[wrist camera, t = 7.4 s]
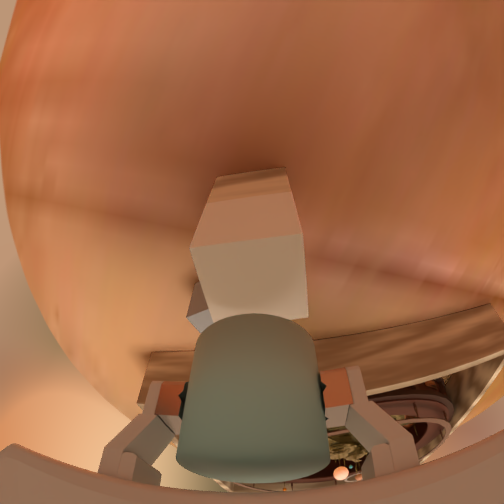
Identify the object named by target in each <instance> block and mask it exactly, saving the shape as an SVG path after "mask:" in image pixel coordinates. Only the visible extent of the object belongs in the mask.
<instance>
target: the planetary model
mask: <svg viewBox="0 0 504 504" xmlns="http://www.w3.org/2000/svg"><path fill="white" fill-rule="evenodd" d="M367 397H368V401H373V402H374V403H375V404H377V405H378V406H379V407H380V408H381V409H382V410H384V411H385V412H386V413H387V414H388V415H389V416H391V417H392V418H393V419H394V420H395V421H396V422H398V423H399V424H400V425H401V426H402V427H404V428H405V429H406V430H407V431H408V432H409V433H411V434H412V435H413V439H414V443H415V447H416V451H418V450H419V449H421V448H422V447H424V446H425V445H427V444H428V443H430V442H431V441H432V440H433V439H435V438H436V437H437V436H438V435H439V434H440V435H441V437H442V440H441V441H440V443H439V444H438V445H437V446H436V447H435V448H433V449H432V450H431V451H430V452H429V453H427V454H426V455H424V456H423V457H421V458H420V459H419V461H420V460H422V459H423V458H425V457H426V456H428V455H429V454H431V453H432V452H434V451H435V450H436V449H437V448H438V447H440V446H441V445H442V444H443V442H445V440H446V439H447V438H448V436H449V435H450V432H451V430H452V429H451V425H450V423H449V422H450V421H451V420H452V417H453V414H454V408H453V403H452V401H451V400H450V399H449V398H448V396H447V393H446V388H445V384H444V381H443V378H442V377H440V378H436V379H433V380H430V381H426V382H423V383H419V384H415V385H412V386H408V387H404V388H400V389H396V390H391V391H387V392H383V393H378V394H373V395H368V396H367ZM444 428H445V430H446V432H445V435H444V438H443V434H442V431H443V429H444ZM327 435H328V443H329V451H330V463H329V464H328V465H327V467H325V468H324V469H322V470H321V471H319V472H317V473H315V474H312V475H309V476H306V477H303V478H299V479H295V480H290V481H283V482H275V483H284V488H283V491H286V490H287V489H286V488H285V483H291V488H292V490H293V483H316V482H325V481H332V480H335V485H337V481H336V480H343V479H344V481H345V482H354V481H359V480H362V479H363V478H362V471H361V467H362V465H363V463H364V461H365V460H366V458H367V456H368V454H369V452H368V451H367V450H366V449H365V448H364V447H363V445H362V444H361V443H360V442H359V441H358V440H357V439H356V438H355V437H354V436H353V435H352V433H351V432H350V431H349V430H348V429H347V428H346V427H345V426H339V427H332V428H327ZM353 476H355V479H356V480H354V481H348V480H347V479H348V478H349V477H353ZM232 483H235V484H237V485H239V486H242V487H246V488H249V489H254V490H259V491H265V492H278V491H272V490H265V489H259V488H254V485H255V483H253V487H251V486H247V485H244V484H242V483H237V482H232Z"/></svg>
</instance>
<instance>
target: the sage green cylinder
mask: <svg viewBox="0 0 504 504" xmlns="http://www.w3.org/2000/svg"><path fill="white" fill-rule="evenodd" d="M176 460H177V462H178V463H179V464H180V465H181V466H183V467H184V468H185V469H187V470H189V471H191V472H193V473H196V474H198V475H202V476H205V477H208V478H212V479H217V480H222V481H228V482H237V483H275V482H283V481H290V480H295V479H299V478H303V477H306V476H309V475H312V474H315V473H317V472H319V471H321V470H322V469H324V468H325V467H327V465H328V464H329V463H330V451H329V443H328V435H327V427H326V420H325V414H324V407H323V398H322V391H321V386H320V379H319V371H318V365H317V358H316V352H315V346H314V342H313V340H312V338H311V336H310V335H309V334H308V332H307V331H306V330H305V329H303V328H302V327H301V326H300V325H298V324H296V323H295V322H293V321H290V320H288V319H285V318H282V317H279V316H275V315H269V314H258V313H250V314H240V315H234V316H230V317H227V318H224V319H221V320H219V321H217V322H215V323H213V324H211V325H210V326H208V327H207V328H206V329H205V330H204V331H203V332H202V333H201V334H200V336H199V338H198V340H197V343H196V347H195V352H194V357H193V362H192V367H191V373H190V378H189V383H188V389H187V394H186V400H185V406H184V411H183V417H182V423H181V429H180V435H179V441H178V447H177V454H176Z"/></svg>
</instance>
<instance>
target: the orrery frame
mask: <svg viewBox="0 0 504 504" xmlns="http://www.w3.org/2000/svg"><path fill="white" fill-rule="evenodd" d="M313 342H314V346H315V352H316V358H317V365H318V371H326V370H332V369H337V368H343V367H350V366H356V365H358V366H359V367H360V370H361V374H362V378H363V382H364V385H365V389H366V393H367V396H368V395H373V394H378V393H383V392H387V391H391V390H396V389H400V388H404V387H408V386H412V385H415V384H419V383H423V382H426V381H430V380H433V379H436V378H440V377H443V376H446V375H449V374H452V375H451V377H450V379H449V380H448V382H447V384H446V386H445V388H446V393H447V396H448V398H449V399H450V400H451V401H452V403H453V408H454V414H453V417H452V420H451V421H450V422H449V423H450V425H451V429H452V430H451V432H450V434H451V433H452V432H453V431H454V430H455V429H456V428H457V427H458V425H459V424H460V423H461V422H462V421H463V420H464V418H465V417H466V416H467V415H468V414H469V412H470V411H471V410H472V409H473V407H474V406H475V405H476V404H477V402H478V401H479V400H480V398H481V397H482V396H483V394H484V393H485V392H486V390H487V389H488V388H489V386H490V385H491V384H492V382H493V381H494V379H495V378H496V376H497V375H498V373H499V372H500V370H501V369H502V367H503V366H504V323H503V321H502V320H501V318H500V317H499V315H498V314H497V312H496V311H495V309H494V308H493V307H492V305H491V304H487V305H483V306H480V307H476V308H473V309H469V310H465V311H462V312H458V313H454V314H450V315H446V316H442V317H438V318H434V319H430V320H425V321H421V322H416V323H412V324H407V325H402V326H397V327H392V328H387V329H382V330H377V331H371V332H366V333H360V334H354V335H348V336H341V337H335V338H328V339H321V340H314V341H313ZM194 352H195V351H177V352H152V353H151V356H150V359H149V363H148V366H147V369H146V373H145V376H144V379H143V383H142V386H141V390H140V393H139V397H138V400H137V405H138V406H139V407H140V408H141V409H142V410H143V409H144V405H145V401H146V397H147V394H148V390H149V386H150V384H151V382H152V381H188V382H189V378H190V373H191V367H192V362H193V357H194ZM445 432H446V430H445V428H444V429H443V431H442V434H443V438H444V435H445ZM441 440H442V437H441V435H440V434H439V435H438V436H437V437H436V438H435V439H433V440H432V441H431V442H430V443H428V444H427V445H425V446H424V447H422V448H421V449H419V450H418V451H417V455H418V459H420V458H421V457H423V456H424V455H426V454H427V453H429V452H430V451H431V450H432V449H433V448H435V447H436V446H437V445H438V444H439V443H440V441H441ZM171 441H172V442H173V443H174V444H175V445H176V446H177V447H178V441H179V435H175V437H174V438H173V439H172V440H171ZM432 453H433V452H432ZM432 453H431V454H432ZM431 454H429V455H428V456H426V457H425V458H423V459H422V460H420V461H419V463H420V465H421V464H422V463H423V462H424V461H425V460H426V459H427V458H428V457H429V456H430V455H431ZM213 480H214V481H215V482H217V483H218V484H219V485H220V486H221V487H223V488H224V489H225V490H226V491H228V492H265V491H259V490H254V489H249V488H246V487H242V486H239V485H237V484H235V483H232V482H228V481H222V480H217V479H213ZM347 480H348V481H354V480H356V479H355V476H353V477H349V478H348V479H347ZM362 480H363V479H362ZM362 480H359V481H362ZM336 481H337V485H340V484H346V483H351V482H345V481H344V479H343V480H336ZM354 482H357V481H354ZM242 484H244V485H247V486H251V487H253V483H242ZM334 485H335V480H332V481H325V482H316V483H293V490H303V489H312V488H320V487H328V486H334ZM254 488H259V489H265V490H272V491H283V488H284V483H255V485H254ZM285 488H286V489H287V490H286V491H292V488H291V483H285Z"/></svg>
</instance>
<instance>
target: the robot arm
mask: <svg viewBox="0 0 504 504" xmlns="http://www.w3.org/2000/svg"><path fill="white" fill-rule="evenodd" d="M319 379H320V386H321V391H322V398H323V407H324V414H325V420H326V427H327V428H332V427H339V426H345V427H346V428H347V429H348V430H349V431H350V432H351V433H352V435H353V436H354V437H355V438H356V439H357V440H358V441H359V442H360V443H361V444H362V445H363V447H364V448H365V449H366V450H367V451H368V452H369V454H368V456H367V458H366V460H365V461H364V463H363V465H362V467H361V471H362V478H363V480H362V481H357V482H351V483H346V484H340V485H334V486H328V487H320V488H312V489H303V490H292V491H278V492H213V491H198V490H187V489H178V488H170V487H162V486H160V481H161V473H160V472H159V471H158V470H156V469H155V468H153V467H152V466H151V465H152V464H153V463H154V462H155V460H156V459H157V458H158V457H159V456H160V454H161V453H162V452H163V450H164V449H165V448H166V447H167V445H168V444H169V443H170V442H171V440H172V439H173V438H174V437H175V435H180V429H181V423H182V417H183V411H184V406H185V400H186V394H187V389H188V383H189V382H188V381H152V382H151V384H150V386H149V390H148V394H147V397H146V401H145V405H144V409H143V412H142V414H138V415H137V416H136V417H135V418H134V419H133V420H132V421H131V422H130V423H129V424H128V425H127V426H126V427H125V428H124V429H123V430H122V431H121V432H120V433H119V434H118V435H117V436H116V437H115V438H114V439H112V440H111V442H109V443H108V444H107V445H106V446H105V447H104V451H103V455H102V458H101V462H100V466H99V469H98V473H96V472H92V471H89V470H86V469H82V468H79V467H76V466H73V465H70V464H67V463H64V462H61V461H58V460H55V459H53V458H50V457H47V456H45V455H42V454H40V453H37V452H34V451H32V450H30V449H28V448H25V447H23V446H21V445H19V444H11V445H9V446H7V447H6V448H5V449H3V450H2V451H1V452H0V504H504V429H503V430H501V431H499V432H497V433H496V434H494V435H492V436H490V437H488V438H486V439H483V440H482V441H479V442H477V443H475V444H473V445H471V446H468V447H466V448H464V449H461V450H459V451H457V452H454V453H452V454H449V455H447V456H444V457H441V458H439V459H436V460H433V461H430V462H428V463H424V464H421V465H420V463H419V459H418V455H417V451H416V447H415V443H414V439H413V435H412V434H411V433H409V432H408V431H407V430H406V429H405V428H404V427H402V426H401V425H400V424H399V423H398V422H396V421H395V420H394V419H393V418H392V417H391V416H389V415H388V414H387V413H386V412H385V411H384V410H382V409H381V408H380V407H379V406H378V405H377V404H375V403H374V402H373V401H368V397H367V393H366V389H365V385H364V382H363V378H362V374H361V370H360V367H359V366H358V365H356V366H350V367H343V368H337V369H332V370H326V371H319Z"/></svg>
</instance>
